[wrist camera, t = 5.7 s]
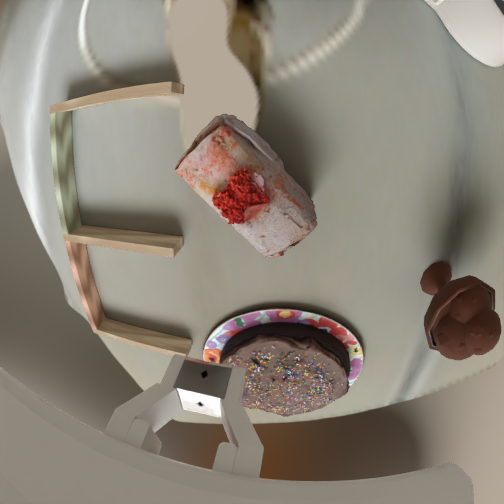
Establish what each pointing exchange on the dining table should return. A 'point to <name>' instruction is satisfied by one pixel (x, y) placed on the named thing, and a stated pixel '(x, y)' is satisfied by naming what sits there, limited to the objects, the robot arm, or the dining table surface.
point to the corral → (102, 236)
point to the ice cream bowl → (459, 314)
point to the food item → (248, 186)
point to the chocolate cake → (287, 358)
